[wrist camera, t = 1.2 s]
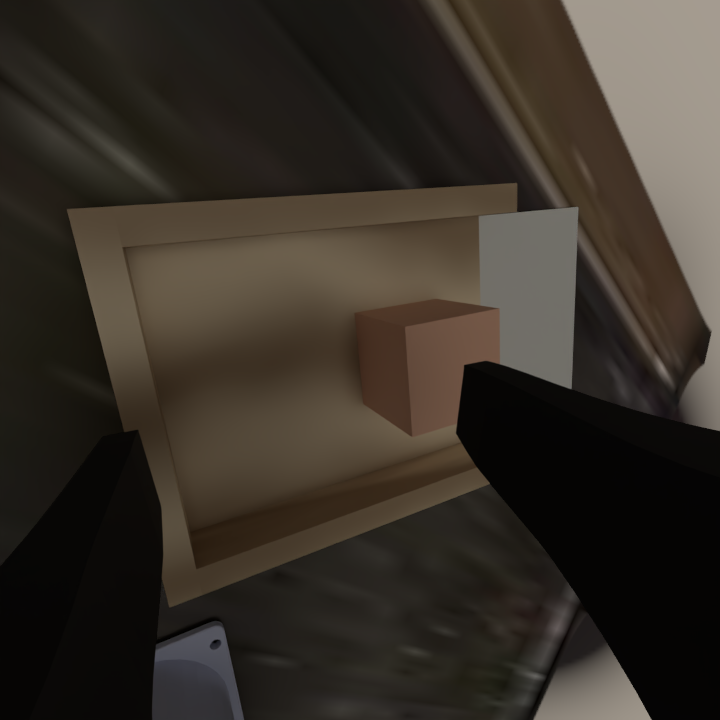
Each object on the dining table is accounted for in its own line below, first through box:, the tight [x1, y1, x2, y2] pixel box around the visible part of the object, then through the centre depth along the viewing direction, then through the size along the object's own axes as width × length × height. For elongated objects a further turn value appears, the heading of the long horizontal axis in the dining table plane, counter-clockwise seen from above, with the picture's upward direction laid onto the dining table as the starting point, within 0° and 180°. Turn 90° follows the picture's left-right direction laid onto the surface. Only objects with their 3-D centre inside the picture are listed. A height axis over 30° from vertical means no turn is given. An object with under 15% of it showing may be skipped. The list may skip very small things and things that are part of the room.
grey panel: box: [479, 207, 578, 389], centre depth 26 cm, size 12×7×1 cm, turn 5°
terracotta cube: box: [355, 299, 500, 437], centre depth 20 cm, size 4×4×4 cm
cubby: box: [67, 183, 517, 608], centre depth 20 cm, size 14×17×3 cm
